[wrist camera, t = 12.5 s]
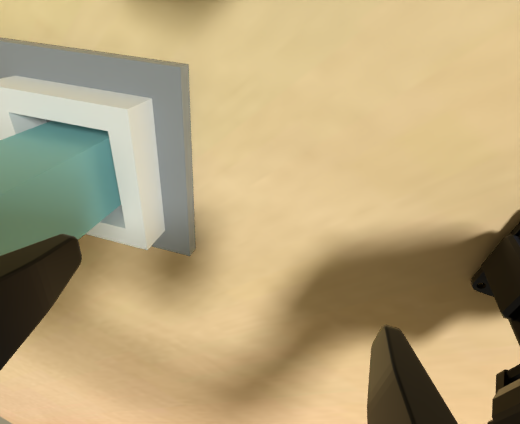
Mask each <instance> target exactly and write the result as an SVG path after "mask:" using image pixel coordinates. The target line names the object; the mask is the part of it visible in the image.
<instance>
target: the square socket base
mask: <svg viewBox="0 0 520 424" xmlns="http://www.w3.org/2000/svg"><path fill="white" fill-rule="evenodd" d="M50 121H57V122H62V123H67V124H73V125H78V126H83V127H88V128H94V129H99V130H104V131H108V134H109V140H110V145H111V151H112V156H113V162H114V167H115V173H116V178H117V184H118V189H119V195H120V200H121V205H120V206H119V207H117V208H116V209H115V210H114V211H113V212H111V213H110V214H109V215H108V216H106V217H105V218H104V219H103V220H102V221H100V222H99V223H98V224H97V225H96V226H94V227H93V228H92V229H91V230H89V231H88V232H87V233H86V234H87V235H91V236H95V237H98V238H102V239H106V240H110V241H114V242H118V243H122V244H125V245H129V246H133V247H137V248H141V249H145V250H148V249H149V248H150V247H151V246H152V247H156V248H160V249H164V250H168V251H172V252H176V253H180V254H184V255H187V256H191V254H192V253H193V251H194V250H195V224H194V198H193V172H192V147H191V121H190V95H189V69H188V64H182V63H175V62H168V61H161V60H154V59H147V58H140V57H133V56H126V55H119V54H112V53H105V52H98V51H91V50H84V49H77V48H70V47H63V46H56V45H48V44H41V43H34V42H27V41H20V40H13V39H6V38H0V140H2V139H5V138H8V137H10V136H13V135H15V134H18V133H21V132H23V131H26V130H29V129H31V128H34V127H37V126H39V125H42V124H44V123H47V122H50Z"/></svg>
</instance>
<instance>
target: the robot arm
mask: <svg viewBox="0 0 520 424" xmlns="http://www.w3.org/2000/svg"><path fill="white" fill-rule="evenodd" d="M81 260H82V256H81V251H80V247H79V242H78V239H77V238H76V237H74V236H71V235H67V234H59V235H56V236H54V237H51V238H48V239H45V240H43V241H40V242H37V243H34V244H32V245H29V246H26V247H23V248H20V249H18V250H15V251H12V252H9V253H7V254H4V255H1V256H0V370H1V369H2V368H3V367H4V365H5V364H6V363H7V362H8V361H9V359H10V358H11V357H12V356H13V354H14V353H15V352H16V351H17V349H18V348H19V347H20V346H21V345H22V343H23V342H24V341H25V340H26V338H27V337H28V336H29V335H30V333H31V332H32V331H33V330H34V329H35V327H36V326H37V325H38V324H39V322H40V321H41V320H42V319H43V318H44V316H45V315H46V314H47V312H48V311H49V310H50V309H51V307H52V306H53V304H54V303H55V302H56V300H57V299H58V297H59V296H60V294H61V292H62V291H63V289H64V288H65V286H66V285H67V283H68V282H69V280H70V279H71V277H72V276H73V274H74V273H75V271H76V270H77V268H78V267H79V265H80V263H81ZM478 283H483V284H478ZM471 284H472V287H473V289H474V290H476V291H479V292H482V293H484V294H487V295H490V296H493V297H494V298H495V300H496V302H497V305H498V307H499V310H500V312H501V314H502V316H503V318H506V319H508V320H509V322H510V325H511V327H512V329H513V332H514V334H515V336H516V339H517V341H518V343H519V345H520V223H519V224H518V225H517V226H516V227H515V229H514V230H513V231H512V232H511V233H510V234H509V235H508V236H506V237H505V238H504V239H503V240H502V241H501V243H500V244H499V245H498V246H497V247H496V249H495V250H494V251H493V252H492V253H491V254H490V256H489V257H488V258H487V259H486V260H485V262H484V263H483V264H482V267H481V269H480V270H479V271H478V272H477V273H476V274H475V276H474V277H473V278H472V280H471ZM492 418H493V420H491V421H489V422H488V424H520V364H519V365H517V366H515V367H513V368H512V369H510V370H503V371H502V372H500V373H498V374H497V375H496V395H495V397H494V398H493V406H492ZM367 421H368V424H458V423H457V421H456V420H455V418H454V417H453V415H452V413H451V412H450V410H449V408H448V407H447V405H446V403H445V402H444V400H443V398H442V397H441V395H440V394H439V392H438V390H437V389H436V387H435V385H434V384H433V382H432V380H431V379H430V377H429V375H428V374H427V372H426V371H425V369H424V367H423V366H422V364H421V362H420V361H419V359H418V357H417V356H416V354H415V352H414V351H413V349H412V348H411V346H410V344H409V343H408V341H407V339H406V338H405V336H404V334H403V333H402V331H401V330H400V329H399V328H396V327H393V326H389V325H383V326H382V327H381V329H380V331H379V333H378V334H377V336H376V338H375V340H374V341H373V344H372V348H371V359H370V372H369V386H368V401H367Z"/></svg>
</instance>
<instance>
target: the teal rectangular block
mask: <svg viewBox="0 0 520 424" xmlns="http://www.w3.org/2000/svg"><path fill="white" fill-rule="evenodd" d="M120 205H121V200H120V195H119V189H118V184H117V178H116V173H115V167H114V162H113V156H112V151H111V145H110V140H109V134H108V131H104V130H99V129H94V128H88V127H83V126H78V125H73V124H67V123H62V122H57V121H50V122H47V123H44V124H42V125H39V126H37V127H34V128H31V129H29V130H26V131H23V132H21V133H18V134H15V135H13V136H10V137H8V138H5V139H2V140H0V256H1V255H4V254H7V253H9V252H12V251H15V250H18V249H20V248H23V247H26V246H29V245H32V244H34V243H37V242H40V241H43V240H45V239H48V238H51V237H54V236H56V235H59V234H67V235H71V236H74V237H76V238H77V239H80V238H81V237H82V236H83V235H85V234H86V233H87V232H88V231H89V230H91V229H92V228H93V227H94V226H96V225H97V224H98V223H99V222H100V221H102V220H103V219H104V218H105V217H106V216H108V215H109V214H110V213H111V212H113V211H114V210H115V209H116V208H117V207H119V206H120Z"/></svg>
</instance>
